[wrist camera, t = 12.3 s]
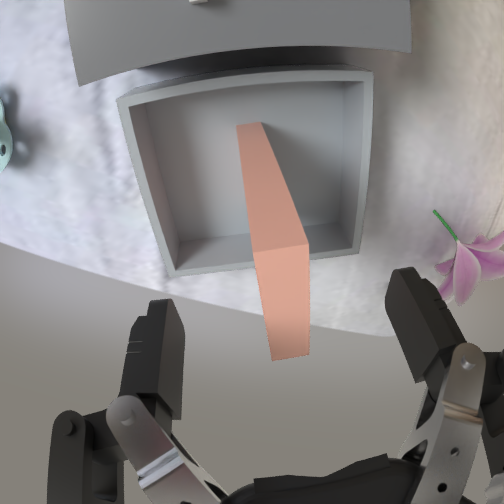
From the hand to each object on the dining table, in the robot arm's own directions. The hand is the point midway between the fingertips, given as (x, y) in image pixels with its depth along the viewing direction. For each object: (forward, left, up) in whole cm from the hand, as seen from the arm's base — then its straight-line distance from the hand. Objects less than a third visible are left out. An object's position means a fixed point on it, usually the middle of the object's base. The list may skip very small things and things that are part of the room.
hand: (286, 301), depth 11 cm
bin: (0, 0, -13) cm, 13 cm away
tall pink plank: (0, 0, -13) cm, 13 cm away
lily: (-19, +9, -13) cm, 25 cm away
